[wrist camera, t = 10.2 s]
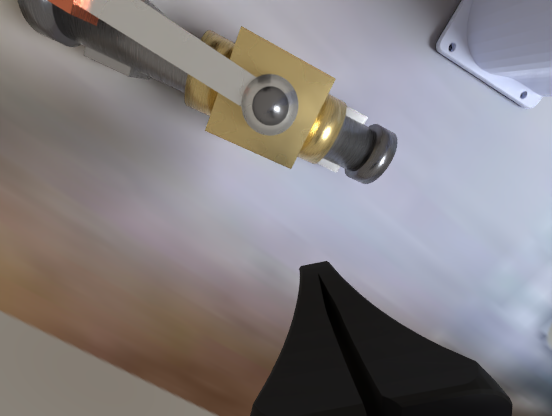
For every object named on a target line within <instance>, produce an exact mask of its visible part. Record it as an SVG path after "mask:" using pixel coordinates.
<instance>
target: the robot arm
mask: <svg viewBox="0 0 552 416" xmlns="http://www.w3.org/2000/svg"><path fill="white" fill-rule="evenodd" d="M450 44H451V45H452V50H451V51H449V45H450ZM436 49H437V51H438V52H439V53H441V54H442V55H444V56H445V57H447V58H448V59H450V60H451V61H453V62H454V63H456V64H458V65H459V66H461V67H462V68H464V69H465V70H467V71H468V72H470V73H471V74H473V75H474V76H476V77H477V78H479V79H480V80H482V81H484V82H485V83H487V84H488V85H490V86H491V87H493V88H494V89H496V90H497V91H499V92H500V93H502V94H503V95H505V96H506V97H508V98H510V99H511V100H513V101H514V102H516V103H517V104H519V105H520V106H522V107H523V108H533V107H535V106H536V105H537V104H538V102H539V101H540V100H541V98H542V97H543V96H552V0H462V1H461V3H460V4H459V6H458V8H457V9H456V11H455V13H454V14H453V16H452V18H451V19H450V21H449V23H448V24H447V26H446V28H445V29H444V31H443V33H442V34H441V36H440V38H439V39H438V41H437V44H436ZM521 93H522V96H521V97H520V95H521ZM299 270H300V285H299V292H298V299H297V304H296V308H295V312H294V316H293V320H292V323H291V326H290V329H289V332H288V335H287V338H286V340H285V343H284V346H283V348H282V350H281V353H280V355H279V357H278V359H277V361H276V363H275V365H274V367H273V370H272V372H271V374H270V376H269V377H268V379H267V381H266V383H265V385H264V386H263V388H262V390H261V391H260V393H259V395H258V397H257V398H256V400H255V402H254V403H253V407H252V411H251V415H250V416H512V402H511V400H510V398H509V397H508V395H507V394H506V393H505V392H504V391H503V390H502V388H501V387H500V386H499V385H498V384H497V382H496V381H495V380H494V379H493V378H492V377H491V376H490V375H489V374H488V373H487V372H486V371H485V370H484V369H483V368H482V367H481V366H480V365H479V364H478V363H477V362H476V361H474V360H472V359H469V358H467V357H465V356H462V355H460V354H458V353H456V352H453V351H451V350H449V349H447V348H444V347H442V346H440V345H438V344H436V343H434V342H432V341H430V340H428V339H426V338H425V337H423V336H421V335H419V334H417V333H416V332H414V331H412V330H410V329H409V328H407V327H405V326H404V325H402V324H400V323H399V322H397V321H396V320H394V319H393V318H391V317H390V316H388V315H387V314H385V313H384V312H382V311H381V310H380V309H378V308H377V307H376V306H374V305H373V304H372V303H370V302H369V301H368V300H367V299H366V298H364V297H363V296H362V295H361V294H360V293H358V292H357V291H356V290H355V289H354V288H353V287H352V286H351V285H350V284H349V283H348V282H346V281H345V280H344V279H343V278H342V276H341V275H340V274H339V273H338V272H337V271H336V270H335V269H334V268H333V267H332V265H331V264H330V263H329V262H328V261H324V262H319V263H314V264H309V265H304V266H301V267H300V268H299Z"/></svg>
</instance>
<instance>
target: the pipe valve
mask: <svg viewBox="0 0 552 416" xmlns="http://www.w3.org/2000/svg"><path fill="white" fill-rule="evenodd" d="M141 1H142V2H144V3H145V4H147V5H148V6H150V7H151V8H153V9H154V10H156V11H157V12H159V13H160V14H162V15H163V16H165V15H164V14H163V13H162V12H161V11H160V10H159V9H158V8H156V7H155V6H154V5H153V4H152V3H151V2H150V1H149V0H141ZM18 3H19V7H20V9H21V12H22V14H23V16H24V18H25V19H26V21H27V22H28V23H29V25H30V26H31V27H32V28H33V29H34V30H36V31H37V32H38V33H40V34H42V35H44V36H47V37H49V38H51V39H53V40H55V41H57V42H59V43H62V44H64V45H66V46H69V47H76V46H79V45H81V44H82V45H84V46H85V51H84V56H86V57H88V58H90V59H92V60H94V61H97V62H99V63H101V64H103V65H105V66H107V67H110V68H112V69H114V70H116V71H118V72H120V73H123V74H125V75H127V76H130V77H136V78H142V79H148V80H149V79H150V77H152V78H154V79H156V80H158V81H160V82H162V83H165V84H167V85H169V86H171V87H173V88H175V89H177V90H179V91H182V92H184V93H185V104H186V105H187V106H189V107H191V108H193V109H196V110H198V111H200V112H202V113H204V114H206V115H209V116H210V118H209V121H208V124H207V126H206V129H205V131H207V132H209V133H212V134H214V135H216V136H218V137H220V138H223V139H225V140H227V141H229V142H232V143H234V144H236V145H238V146H241V147H243V148H245V149H247V150H250V151H252V152H254V153H256V154H259V155H261V156H263V157H265V158H268V159H270V160H272V161H274V162H276V163H279V164H281V165H283V166H285V167H288V168H290V169H291V168H292V166H293V164H294V162H295V160H296V158H297V157H300V158H302V159H304V160H306V161H308V162H310V163H313V164H316V163H317V164H319V165H321V166H323V167H325V168H328V169H330V170H332V171H334V172H336V173H337V171H338V169H339V168H340V166H341V167H343V168H345V174H346V175H347V176H348V177H350V178H352V179H354V180H356V181H359V182H361V183H363V184H369V183H371V182H373V181H375V180H376V179H377V178H379V177H380V176H381V175H382V174H383V173H384V171H385V170H386V169H387V167H388V166H389V164H390V163H391V161H392V159H393V157H394V154H395V152H396V148H397V137H396V135H395V134H394V133H393V132H391V131H389V130H387V129H385V128H384V127H382V126H380V125H378V124H373V125H371V126H369V127H367V126H365V125H364V123H365V122H366V120H367V118H368V117H366V116H364V115H363V114H361V113H359V112H357V111H355V110H353V109H351V108H349V107H348V106H346V103H344V102H343V101H341V100H339V99H337V98H335V97H333V96H331V95H330V94H328V93H329V91H330V89H331V87H332V85H333V83H334V81H335V78H333V77H331V76H330V75H328V74H326V73H324V72H322V71H321V70H319V69H317V68H315V67H314V66H312V65H310V64H308V63H306V62H305V61H303V60H301V59H299V58H297V57H296V56H294V55H292V54H290V53H288V52H287V51H285V50H283V49H281V48H279V47H278V46H276V45H274V44H272V43H271V42H269V41H267V40H265V39H263V38H262V37H260V36H258V35H256V34H254V33H253V32H251V31H249V30H247V29H245V28H244V27H242V26H241V28H240V31H239V34H238V37H237V40H236V43H233V42H231V41H229V40H228V39H226V38H224V37H222V36H220V35H218V34H216V33H215V32H213V31H211V30H208V31H207V32H206V33H205V34H204V35H203V37H202V38H201V39H200V38H198V37H196V36H195V37H196V38H198V39H199V40H201V41H202V42H204V43H205V44H207V45H208V46H210V47H211V48H213V49H214V50H216V51H217V52H219V53H220V54H222V55H223V56H225V57H226V58H228V59H229V60H231V61H233V62H234V63H236V64H237V65H239V66H240V67H242V68H243V69H245V70H246V71H248V72H249V73H251V74H252V75H254V76H255V77H258V76H261V75H265V74H275V75H279V76H281V77H283V78H285V79H286V80H287V81H288V82H289V83H290V84H291V85H292V86H293V88H294V89H295V91H296V94H297V97H298V113H297V116H296V119H295V121H294V122H293V124H292V125H291V126H290V127H289V128H288V129H287V130H286V131H284V132H283V133H280V134H278V135H272V136H268V135H262V134H260V133H258V132H256V131H254V130H253V129H252V128H251V127H250V126H249V125H248V124H247V122H246V121H245V119H244V116H243V113H242V108H241V106H239V105H238V104H236V103H234V102H233V101H231V100H229V99H228V98H226V97H225V96H223V95H221V94H220V93H218V92H217V91H215V90H213V89H212V88H210V87H209V86H207V85H205V84H204V83H202V82H201V81H199V80H197V79H196V78H194V77H192V76H191V75H189V74H188V73H186V72H184V71H183V70H181V69H180V68H178V67H176V66H175V65H173V64H172V63H170V62H168V61H167V60H165V59H163V58H162V57H160V56H159V55H157V54H155V53H154V52H152V51H151V50H149V49H147V48H146V47H144V46H143V45H141V44H139V43H138V42H136V41H135V40H133V39H131V38H130V37H128V36H126V35H125V34H123V33H122V32H120V31H118V30H117V29H115V28H114V27H112V26H110V25H109V24H107V23H106V22H104V21H102V20H101V19H98V22H97V26H96V25H93V24H91V23H89V22H87V21H84V20H82V19H80V18H78V17H75V16H73V15H71V14H69V13H67V12H66V11H64V10H62V9H61V8H59V7H58V6H56V5H54V4H53V3H51V2H49V1H48V0H18ZM190 34H191V33H190ZM193 36H194V35H193Z"/></svg>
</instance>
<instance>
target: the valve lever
mask: <svg viewBox="0 0 552 416" xmlns="http://www.w3.org/2000/svg"><path fill="white" fill-rule="evenodd" d="M48 1H49V2H51V3H53V4H54V5H56V6H58V7H59V8H61V9H62V10H64V11H66V12H67V13H69V14H71V15H73V16H75V17H78V18H80V19H82V20H84V21H87V22H89V23H91V24H93V25H96V26H97V22H98V19H101V20H102V21H104V22H106V23H107V24H109V25H110V26H112V27H114V28H115V29H117V30H118V31H120V32H122V33H123V34H125V35H126V36H128V37H130V38H131V39H133V40H135V41H136V42H138V43H139V44H141V45H143V46H144V47H146V48H147V49H149V50H151V51H152V52H154V53H155V54H157V55H159V56H160V57H162V58H163V59H165V60H167V61H168V62H170V63H172V64H173V65H175V66H176V67H178V68H180V69H181V70H183V71H184V72H186V73H188V74H189V75H191V76H192V77H194V78H196V79H197V80H199V81H201V82H202V83H204V84H205V85H207V86H209V87H210V88H212V89H213V90H215V91H217V92H218V93H220V94H221V95H223V96H225V97H226V98H228V99H229V100H231V101H233V102H234V103H236V104H238V105H239V106H241V108H242V113H243V116H244V119H245V121H246V122H247V124H248V125H249V126H250V127H251V128H252V129H253V130H254V131H256V132H258V133H260V134H262V135H268V136H272V135H278V134H280V133H283V132H284V131H286V130H287V129H288V128H289V127H290V126H291V125H292V124H293V122H294V121H295V119H296V116H297V113H298V97H297V94H296V91H295V89H294V88H293V86H292V85H291V84H290V83H289V82H288V81H287V80H286V79H285V78H283V77H281V76H279V75H275V74H265V75H261V76H258V77H255V76H254V75H252V74H251V73H249V72H248V71H246V70H245V69H243V68H242V67H240V66H239V65H237V64H236V63H234V62H233V61H231V60H229V59H228V58H226V57H225V56H223V55H222V54H220V53H219V52H217V51H216V50H214V49H213V48H211V47H210V46H208V45H207V44H205V43H204V42H202V41H201V40H199V39H198V38H196V37H195V36H193V35H192V34H190V33H189V32H187V31H186V30H184V29H183V28H181V27H180V26H178V25H177V24H175V23H174V22H172V21H171V20H169V19H168V18H166V17H165V16H163V15H162V14H160V13H159V12H157V11H156V10H154V9H153V8H151V7H150V6H148V5H147V4H145V3H144V2H142V1H141V0H48Z"/></svg>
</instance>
